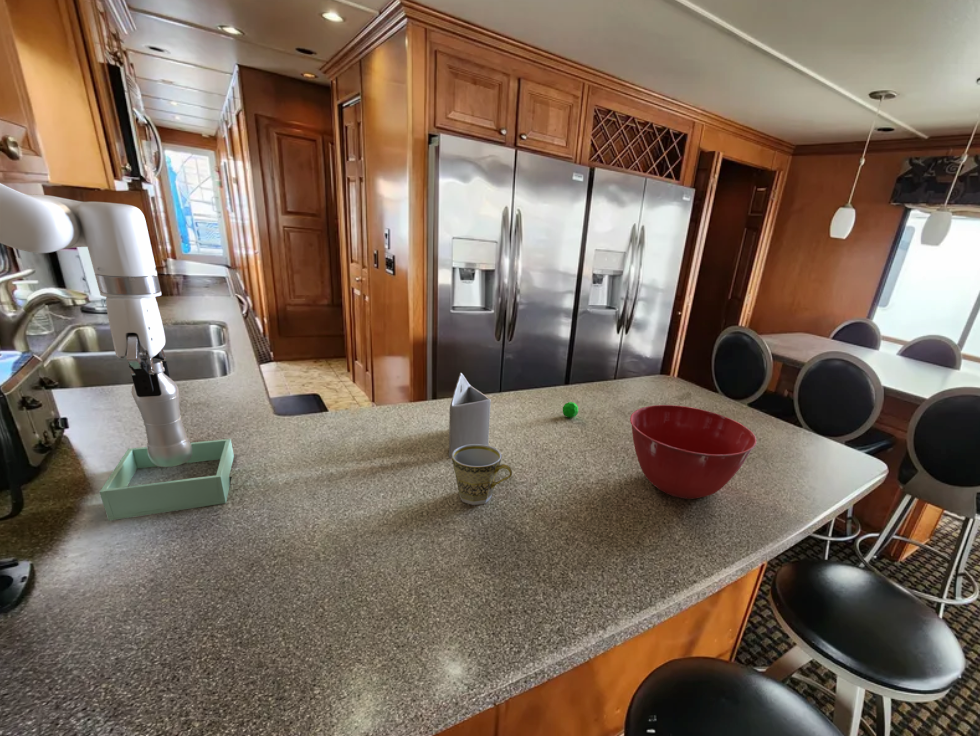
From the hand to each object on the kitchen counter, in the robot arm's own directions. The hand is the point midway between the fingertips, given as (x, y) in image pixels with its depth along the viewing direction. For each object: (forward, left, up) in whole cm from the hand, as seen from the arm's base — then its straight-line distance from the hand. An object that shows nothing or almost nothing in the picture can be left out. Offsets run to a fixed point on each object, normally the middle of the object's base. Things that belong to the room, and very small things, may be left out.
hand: (154, 388), depth 81 cm
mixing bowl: (+101, -31, -21) cm, 108 cm away
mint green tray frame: (0, 0, -21) cm, 21 cm away
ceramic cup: (+54, -22, -21) cm, 62 cm away
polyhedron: (+95, +13, -21) cm, 98 cm away
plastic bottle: (0, 0, -15) cm, 15 cm away
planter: (+60, +2, -21) cm, 64 cm away
